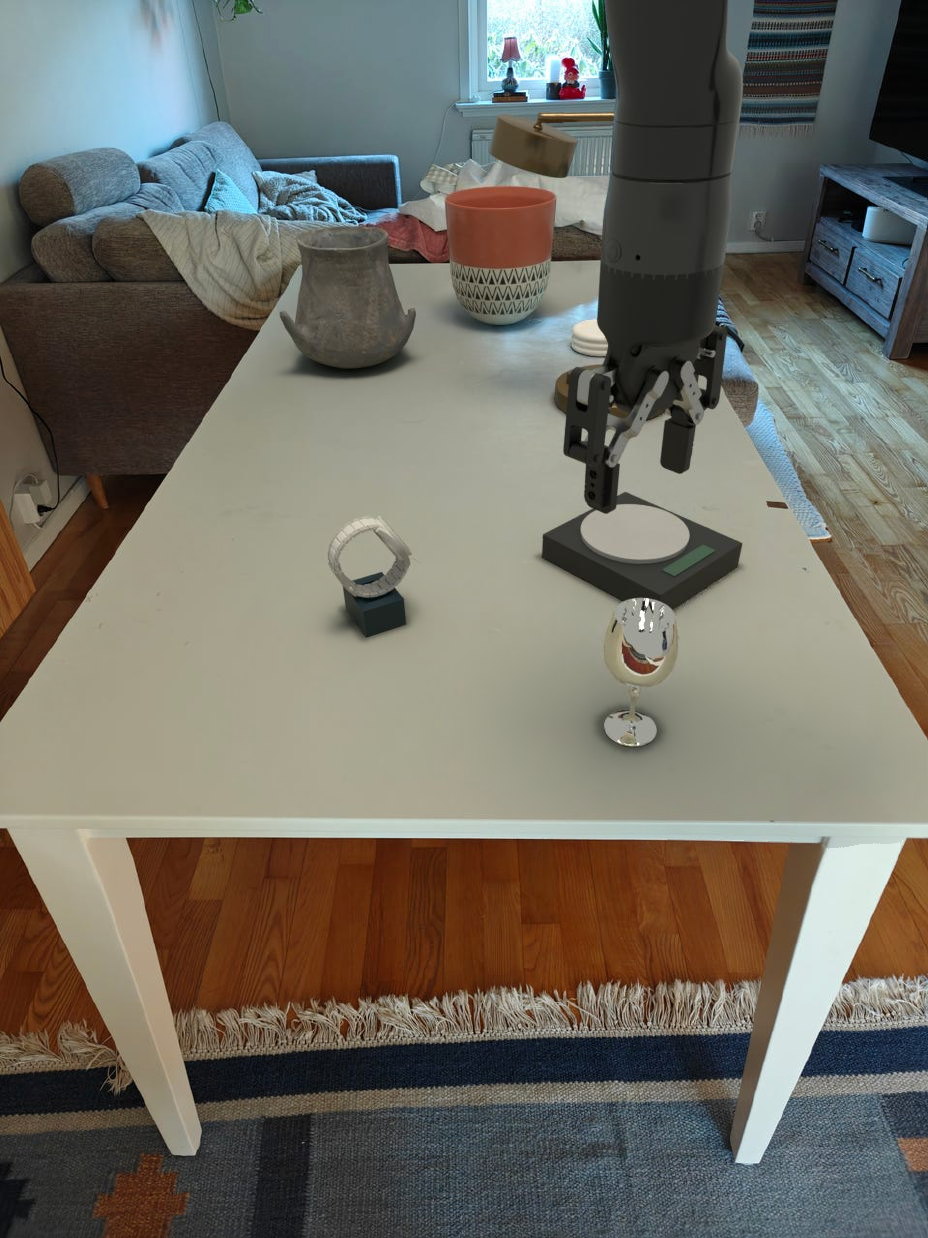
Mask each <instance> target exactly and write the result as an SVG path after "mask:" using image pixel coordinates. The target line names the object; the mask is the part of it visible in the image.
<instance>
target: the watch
mask: <svg viewBox="0 0 928 1238" xmlns="http://www.w3.org/2000/svg"><path fill="white" fill-rule="evenodd" d="M369 531H373V533H374V534H375V535H376V536H377V537H378V538H379V540H380V541H381V542H382V543H383V544H384V546H385V547H386V548H387V549H388V550H389V551H390V553H392V555H393V556H394V557H395V560H394V562H393V563H392V565H391V568H389V570H388V571H387V572H386V573H385V574H384V572H383V571H379V572H376V573H373V574H369V575H366V576H363V577H359V578H356V579H353V580H351V579H350V578H349V577H348V576H347V575H346V574H345V572H344V571H343V569H342V567H341V563H340V561H339V560H340V556H341V554H342V551H343V550H344V549H345V547H346V546H347V545H348V544H349V543H351V541H353V539H355V538H356V537H358V536H360V535H361V534H364V533H367V532H369ZM412 555H413V553H412V551H411V549H410V548H409V547H408V545H407V544H406V543H405V541H403V539H402V538H401V537H400V535H398V533H397V532H396V531H395V530H394V528H393V527H391V526H390V525H389V523H388V522H387V521H386V520H385V519H384V518H383V517H382V516H380V515H377V516H376V517H374V516H372V515H368V514H367V515H364V516H360V517H355V518H354V519H352V520H349V521H348V522H346V523H344V524H343V525H342V526H341V527H340V528H338V530H337V531H336V533H335V534H334V535H333V536H332V539H331V540H330V542H329V545H328V550H327V560H328V562H327V565H328V566H329V569H330V570H331V572H332V573H333V575H334V576H335V577H336V579H337V580H338V581H339V583H340V584H341V586H342V591H343V600H344V606H345V610H346V612H348V614H349V615H350V617H351V618H352V619H353V621H354V622H355V624H356V625H357V626H358V628H359V630H360V631H361V632H362V634H363V635H364V637H365V638H368V637H371V636H374V635H377V634H380V633H383V632H386V631H389V630H392V629H396V628H399V627H402V626H405V625H407V619H406V617H407V616H406V609H405V608H406V607H405V606H406V605H405V598H404V597H403V596H402V594H401V593H400V591H398V589H397V588H396V587H397V586H399V584H400V583H402V580H403V579H404V578H405V576H406V575H407V573H408V571H409V568H410V566H411V565H412V564H411V559H410V557H411V556H412Z"/></svg>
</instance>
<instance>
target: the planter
mask: <svg viewBox="0 0 928 1238" xmlns="http://www.w3.org/2000/svg"><path fill="white" fill-rule="evenodd" d="M556 209H557V195H556V193H554V192H553V191H550V190H547V189H544V188H538V187H532V186H531V187H530V186H518V185H495V186H493V185H491V186H481V187H480V186H479V187H471V188H466V189H460V190H457V191H453V192H450V193H449V194H447V195H446V196H445V197H444V212H445V213H444V214H445V223H446V234H447V247H448V257H449V259H448V260H449V270H450V277H451V282H452V286H453V290H454V294H455V296H456V298H457V300H458V302H459V304H460V305H461V306H462V308H463V309H464V310H465V311H466V313H468V314H469V315H470V316H471V317H473V318H474V319H475V320H477V321H479V322H481V323H484V324H487V325H492V326H494V325H495V326H505V325H506V326H507V325H512V324H516V323H518V322H521V321H522V320H524V319H526V318H527V317H528V316H530V315H531V314H532V313H533V312H534V311H535V310H536V308H538V307H539V305H540V304H541V302H542V301H543V299H544V296H545V294H546V291H547V288H548V285H549V281H550V273H551V268H552V267H551V266H552V255H553V244H554V233H555V222H556V212H557V211H556Z"/></svg>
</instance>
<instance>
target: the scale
mask: <svg viewBox="0 0 928 1238" xmlns="http://www.w3.org/2000/svg"><path fill="white" fill-rule="evenodd" d="M742 549H743V542H741V541H739V540H737V539H734V538H733V537H730V536H728V535H726V534H723V533H720V532H718V531H716V530H714V529H712V528H709V527H707V526H704V525H702V524H700V523H698V522H696V521H693V520H691V519H688V518H687V517H684V516H683V515H680V514H677V513H675V512H673V511H672V510H671V511H670V510H668V509H666V508H664V507H661V506H659V505H657V504H654V503H652V502H651V501H647V500H646V499H643V498H641V497H639V496H636V495H635V494H632V493H630V492H627V491H624V492H621V493H620V494H617V505H616V509H615V510H613V511H611V512H610V513H608V514H604V513H602V512H600V511H597V510H595V509H593V508H590V509H589V510H586V511H585V512H583V513H582V514H579V515H577V516H575V517H574V518H571V519H570V520H568V521H566V522H564V523H562V524H560V525H558V526H556V527H554V528H552V529H550V530H548V531H546V532H545V533H543V534H542V546H541V558H543V559H544V560H546V561H548V562H550V563H552V564H554V565H555V566H557V567H559V568H561V569H563V570H564V571H566V572H569V573H570V574H572V575H574V576H576V577H578V578H580V579H581V580H583V581H585V582H586V583H589V584H591V585H593V586H595V587H596V588H598V589H600V590H602V591H604V592H605V593H608V594H609V595H611V596H613V597H614V598H617V599H619V600H621V601H622V602H624V601H626V600H629V599H633V598H649V599H653V600H657V601H660V602H662V603H664V604H666V605H667V606H669V607H670V608H671V609H672V610H674V609H676V608H677V607H678V606H680V605H681V604H683V603H685V602H686V601H688V600H689V599H691V598H692V597H694V596H695V595H697V594H698V593H700V592H701V591H703V590H704V589H706V588H707V587H709V586H710V585H712V584H714V583H715V582H717V581H718V580H719V579H722V577H724V576H725V575H727V574H728V573H730V572H732V571H733V570H735V569H736V568H738V567H739V563H740V557H741V553H742Z"/></svg>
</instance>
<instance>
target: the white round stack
mask: <svg viewBox="0 0 928 1238" xmlns="http://www.w3.org/2000/svg"><path fill="white" fill-rule="evenodd" d="M571 333H572V334H571V342H570V344H571V348H572V349H573V350H574V351H575V352H577V353H579V354H582V355H585V356H589V357H606V353H607V349H608V343H607V340H606V338H605V336H604V334H603V333H602V332H601V330H600V329H599V327H598V324H597V318H595V319H594V318H593V319H587V320H582V321H579V322H577V323H575V324H574V325H573V326H572V329H571Z"/></svg>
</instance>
